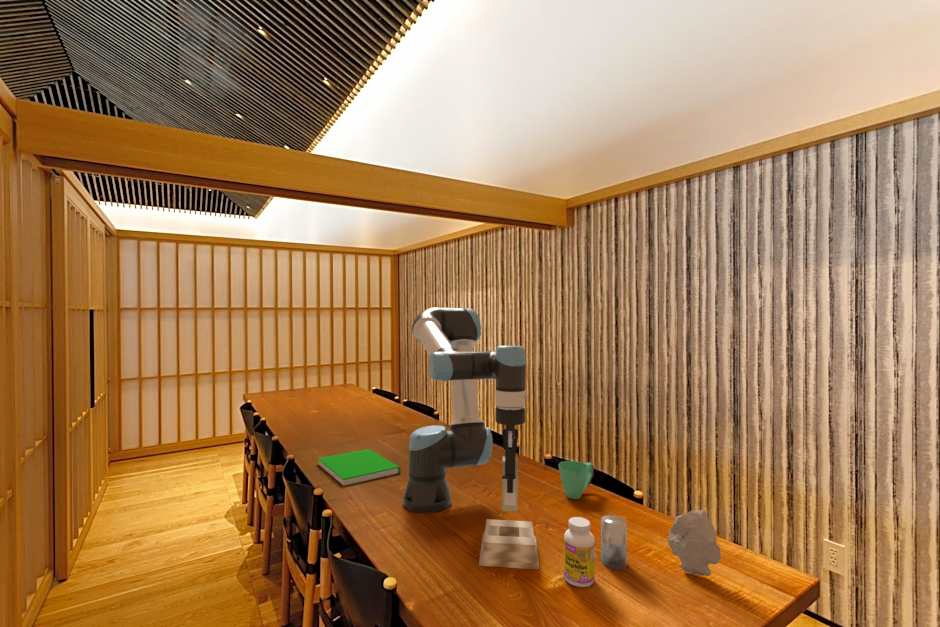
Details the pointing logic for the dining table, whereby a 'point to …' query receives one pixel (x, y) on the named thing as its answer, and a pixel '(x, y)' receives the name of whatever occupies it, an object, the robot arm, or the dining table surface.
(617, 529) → the clear glass cylinder
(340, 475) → the book
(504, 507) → the square peg
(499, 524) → the socket block
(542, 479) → the dining table surface
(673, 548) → the stone tool
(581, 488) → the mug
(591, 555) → the supplement bottle
